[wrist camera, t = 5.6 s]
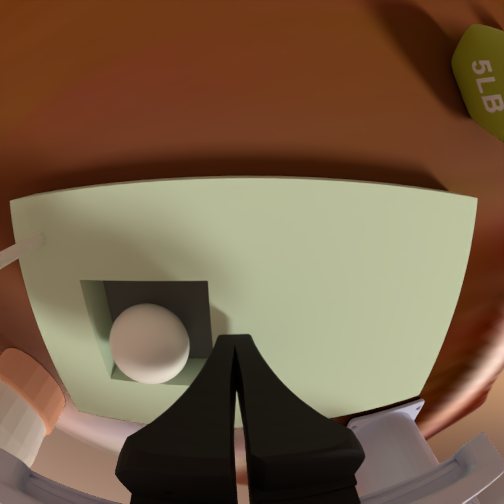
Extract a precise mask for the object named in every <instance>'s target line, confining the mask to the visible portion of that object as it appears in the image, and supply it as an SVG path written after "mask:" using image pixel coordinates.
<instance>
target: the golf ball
mask: <svg viewBox="0 0 504 504" xmlns="http://www.w3.org/2000/svg"><path fill="white" fill-rule="evenodd" d="M109 345H110V351H111V355H112V357H113V359H114V361H115V363H116V365H117V366H118V367H119V369H120V370H121V371H122V372H123V373H124V374H125V375H127V376H128V377H130V378H131V379H133V380H135V381H138V382H140V383H145V384H159V383H163V382H166V381H168V380H170V379H172V378H173V377H175V376H176V375H177V374H178V373H179V372H180V371H181V370H182V369H183V367H184V366H185V364H186V361H187V359H188V355H189V338H188V334H187V331H186V329H185V327H184V325H183V323H182V322H181V320H180V319H179V318H178V317H177V316H176V315H175V314H174V313H173V312H171V311H170V310H168V309H166V308H165V307H162V306H159V305H156V304H148V303H145V304H138V305H134V306H132V307H129V308H128V309H126V310H125V311H123V312H122V313H121V314H120V315H119V316H118V317H117V319H116V320H115V322H114V324H113V326H112V328H111V331H110V337H109Z"/></svg>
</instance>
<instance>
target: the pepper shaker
mask: <svg viewBox="0 0 504 504" xmlns="http://www.w3.org/2000/svg"><path fill="white" fill-rule="evenodd" d="M64 405H65V398H64V394H63V393H62V391H61V389H60V387H59V385H58V384H57V383H56V381H55V380H54V379H53V377H52V376H51V375H50V374H49V373H48V372H47V371H46V370H45V369H44V368H43V367H42V366H41V364H39V363H38V362H37V361H36V360H34V359H33V358H32V357H31V356H29V355H28V354H26V353H24V352H22V351H21V350H18V349H15V348H8V349H5V351H4V352H3V353H2V354H1V355H0V448H2V449H3V450H5V451H7V452H8V453H10V454H12V455H14V456H15V457H17V458H19V459H20V460H21V461H23V462H24V463H25V464H26V465H27V466H28V467H29V468H30V466H31V465H32V463H33V462H34V460H35V457H36V455H37V452H38V450H39V447H40V445H41V443H42V440H43V438H44V436H46V435H48V434H50V433H51V432H52V430H53V428H54V426H55V424H56V422H57V420H58V418H59V416H60V414H61V412H62V410H63V408H64ZM0 504H1V503H0Z"/></svg>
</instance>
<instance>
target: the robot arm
mask: <svg viewBox="0 0 504 504" xmlns="http://www.w3.org/2000/svg"><path fill="white" fill-rule="evenodd" d="M236 392H237V395H238V401H239V407H240V413H241V419H242V424H243V430H244V437H245V449H246V463H247V476H248V489H249V501H250V504H480V503H479V501H478V499H477V497H476V495H478V494H479V493H480V492H481V491H483V490H484V489H485V488H486V487H488V486H489V485H490V484H491V483H493V482H494V481H495V480H496V479H497V478H498V477H499V476H500V475H502V474H503V473H504V460H503V459H502V457H501V456H500V454H499V453H498V451H497V450H496V448H495V447H494V446H493V444H492V443H491V441H490V440H489V439H488V437H487V436H486V434H485V433H484V432H482V433H480V434H479V435H477V436H476V437H474V438H473V439H471V440H470V441H468V442H466V443H465V444H464V445H463V446H461V447H460V448H459V450H458V451H457V452H456V453H455V455H454V456H452V457H450V458H449V459H447V460H445V461H443V462H441V463H440V464H439V463H438V461H437V459H436V457H435V456H434V454H433V452H432V450H431V449H430V447H429V446H428V444H427V442H426V440H425V439H424V437H423V435H422V434H421V432H420V430H419V429H418V427H417V425H416V424H415V422H414V419H415V418H416V416H417V414H418V413H419V411H420V409H421V408H422V406H423V404H424V400H423V399H419V400H416V401H413V402H410V403H407V404H404V405H401V406H398V407H394V408H391V409H388V410H384V411H381V412H377V413H373V414H370V415H366V416H361V417H357V418H354V419H352V420H350V421H349V423H348V425H347V427H345V426H343V425H341V424H339V423H337V422H334V421H332V420H330V419H329V418H327V417H325V416H324V415H322V414H320V413H319V412H317V411H316V410H315V409H313V408H312V407H310V406H309V405H308V404H306V403H305V402H304V401H302V400H301V399H300V398H299V397H297V396H296V395H295V394H294V393H293V392H292V391H291V390H290V389H289V388H288V387H287V386H286V385H285V384H284V383H283V382H282V381H281V380H280V379H279V378H278V377H277V375H276V374H275V373H274V372H273V371H272V369H271V368H270V367H269V365H268V364H267V362H266V361H265V360H264V358H263V357H262V355H261V354H260V352H259V350H258V348H257V347H256V345H255V343H254V341H253V338H252V336H251V335H250V334H225V335H219V336H218V337H217V340H216V342H215V345H214V347H213V349H212V351H211V354H210V355H209V357H208V359H207V361H206V363H205V364H204V366H203V368H202V369H201V371H200V372H199V374H198V375H197V377H196V378H195V379H194V381H193V382H192V383H191V385H190V386H189V387H188V388H187V390H186V391H185V392H184V393H183V394H182V395H181V396H180V397H179V398H178V399H177V400H176V401H175V402H174V403H173V404H172V405H171V406H170V407H169V408H168V409H167V410H166V411H165V412H163V413H162V414H161V415H160V416H158V417H157V418H156V419H155V420H153V421H152V422H151V423H149V424H148V425H147V426H145V427H143V428H142V429H140V430H139V431H137V432H135V433H134V434H132V435H130V436H129V437H127V439H126V441H125V443H124V445H123V447H122V449H121V452H120V455H119V458H118V462H117V466H116V470H115V475H116V476H117V478H118V479H119V481H120V482H121V483H122V484H123V485H124V486H125V487H126V488H127V489H128V490H129V491H130V492H131V493H132V495H131V501H130V504H238V500H237V486H236V470H235V452H234V423H235V408H236ZM0 503H1V504H121V503H117V502H113V501H110V500H106V499H103V498H99V497H96V496H93V495H90V494H87V493H84V492H81V491H78V490H75V489H73V488H70V487H67V486H65V485H62V484H60V483H57V482H55V481H53V480H51V479H48V478H46V477H44V476H42V475H40V474H38V473H36V472H34V471H31V469H30V468H29V467H28V466H27V465H26V464H25V463H24V462H23V461H21V460H20V459H19V458H17V457H15V456H14V455H12V454H10V453H8V452H7V451H5V450H3V449H2V448H0Z"/></svg>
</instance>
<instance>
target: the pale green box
mask: <svg viewBox="0 0 504 504" xmlns="http://www.w3.org/2000/svg"><path fill="white" fill-rule="evenodd" d="M10 208H11V217H12V224H13V231H14V237H15V243H16V244H14V245H12V246H10V247H8V248H6V249H5V250H3V251H1V252H0V269H2V268H3V267H5V266H7V265H8V264H10V263H11V262H13V261H15V260H16V259H18V258H19V262H20V267H21V271H22V275H23V279H24V283H25V286H26V290H27V293H28V297H29V300H30V303H31V306H32V310H33V313H34V316H35V318H36V321H37V324H38V327H39V329H40V332H41V335H42V337H43V340H44V342H45V345H46V347H47V350H48V352H49V354H50V356H51V359H52V361H53V363H54V365H55V367H56V369H57V372H58V374H59V376H60V378H61V380H62V382H63V384H64V386H65V387H66V389H67V391H68V393H69V395H70V397H71V399H72V400H73V402H74V404H75V406H76V407H77V409H78V411H80V412H84V413H88V414H93V415H97V416H102V417H107V418H113V419H118V420H124V421H131V422H137V423H145V424H149V423H151V422H152V421H153V420H155V419H156V418H157V417H158V416H160V415H161V414H162V413H163V412H165V411H166V410H167V409H168V408H169V407H170V406H171V405H172V404H173V403H174V402H175V401H176V400H177V399H178V398H179V397H180V396H181V395H182V394H183V393H184V392H185V391H186V390H187V388H188V387H189V386H190V385H191V383H192V382H193V381H194V379H195V378H196V377H197V375H198V374H199V372H200V371H201V369H202V368H203V366H204V364H205V363H206V361H207V359H208V357H209V355H210V354H211V351H212V349H213V347H214V345H215V342H216V340H217V337H218V336H219V335H225V334H250V335H251V336H252V338H253V341H254V343H255V345H256V347H257V348H258V350H259V352H260V354H261V355H262V357H263V358H264V360H265V361H266V362H267V364H268V365H269V367H270V368H271V369H272V371H273V372H274V373H275V374H276V375H277V377H278V378H279V379H280V380H281V381H282V382H283V383H284V384H285V385H286V386H287V387H288V388H289V389H290V390H291V391H292V392H293V393H294V394H295V395H296V396H297V397H299V398H300V399H301V400H302V401H304V402H305V403H306V404H308V405H309V406H310V407H312V408H313V409H315V410H316V411H317V412H319V413H320V414H322V415H324V416H325V417H327V418H334V417H339V416H344V415H349V414H353V413H358V412H362V411H366V410H370V409H374V408H378V407H382V406H385V405H389V404H392V403H395V402H399V401H402V400H405V399H408V398H411V397H414V396H417V395H419V394H420V392H421V390H422V388H423V386H424V384H425V382H426V380H427V378H428V376H429V374H430V371H431V369H432V367H433V365H434V363H435V360H436V358H437V356H438V353H439V351H440V348H441V346H442V343H443V341H444V338H445V336H446V333H447V330H448V328H449V325H450V322H451V319H452V316H453V313H454V310H455V307H456V304H457V300H458V297H459V293H460V290H461V286H462V283H463V279H464V275H465V271H466V266H467V262H468V257H469V252H470V247H471V242H472V236H473V230H474V224H475V216H476V208H477V198H475V197H471V196H467V195H463V194H459V193H454V192H450V191H444V190H438V189H431V188H424V187H417V186H409V185H401V184H392V183H383V182H373V181H362V180H349V179H335V178H318V177H294V176H204V177H181V178H163V179H149V180H137V181H126V182H116V183H107V184H98V185H90V186H82V187H75V188H68V189H61V190H55V191H49V192H43V193H37V194H33V195H29V196H26V197H22V198H18V199H15V200H11V201H10ZM145 303H148V304H156V305H159V306H162V307H165V308H166V309H168V310H170V311H171V312H173V313H174V314H175V315H176V316H177V317H178V318H179V319H180V320H181V322H182V323H183V325H184V327H185V329H186V331H187V334H188V338H189V355H188V359H187V361H186V364H185V366H184V367H183V369H182V370H181V371H180V372H179V373H178V374H177V375H176V376H175V377H173V378H172V379H170V380H168V381H166V382H163V383H159V384H145V383H140V382H138V381H135V380H133V379H131V378H130V377H128V376H127V375H125V374H124V373H123V372H122V371H121V370H120V369H119V367H118V366H117V365H116V363H115V361H114V359H113V357H112V355H111V351H110V345H109V337H110V331H111V328H112V326H113V324H114V322H115V320H116V319H117V317H118V316H119V315H120V314H121V313H122V312H123V311H125V310H126V309H128V308H129V307H132V306H134V305H138V304H145ZM234 428H243V424H242V419H241V413H240V407H239V401H238V395H237V392H236V408H235V423H234Z"/></svg>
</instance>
